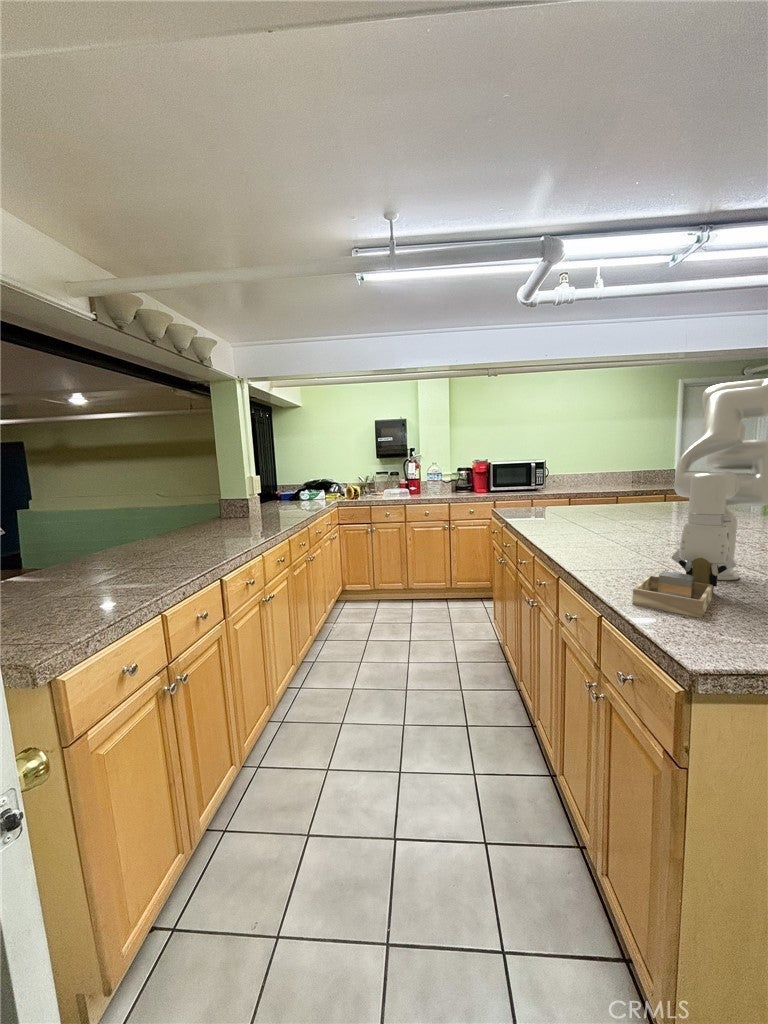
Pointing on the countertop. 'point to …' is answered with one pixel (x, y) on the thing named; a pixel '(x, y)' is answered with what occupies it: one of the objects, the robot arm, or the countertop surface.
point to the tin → (676, 584)
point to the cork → (702, 571)
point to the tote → (672, 598)
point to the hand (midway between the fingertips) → (700, 586)
